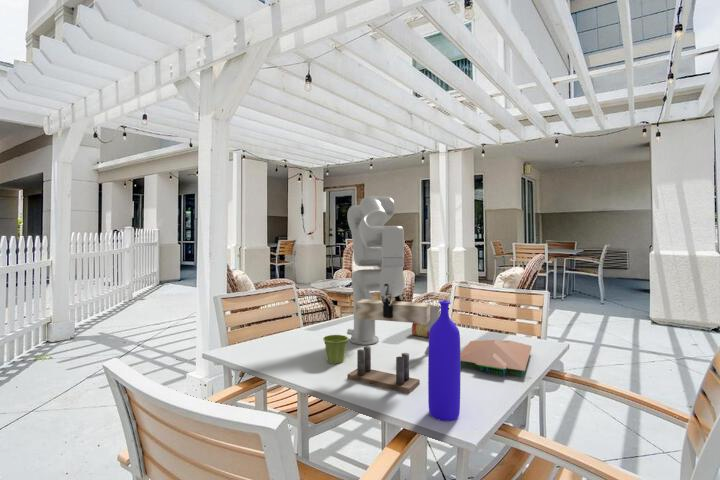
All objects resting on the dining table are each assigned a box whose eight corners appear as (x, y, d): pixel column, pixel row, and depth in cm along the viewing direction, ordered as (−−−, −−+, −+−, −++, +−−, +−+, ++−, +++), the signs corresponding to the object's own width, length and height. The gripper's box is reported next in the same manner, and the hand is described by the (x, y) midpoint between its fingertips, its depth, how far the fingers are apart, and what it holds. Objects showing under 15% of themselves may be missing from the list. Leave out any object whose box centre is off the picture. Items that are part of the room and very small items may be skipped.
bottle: (424, 407, 104) (425, 298, 103) (454, 406, 104) (454, 298, 104) (433, 422, 95) (433, 304, 95) (464, 421, 96) (465, 303, 96)
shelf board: (356, 318, 128) (355, 302, 128) (362, 314, 134) (362, 299, 134) (426, 323, 120) (426, 306, 120) (430, 319, 126) (430, 303, 126)
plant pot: (351, 358, 144) (351, 336, 144) (342, 367, 135) (342, 342, 135) (329, 356, 147) (329, 333, 147) (318, 364, 138) (318, 340, 138)
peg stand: (347, 378, 124) (347, 350, 124) (360, 371, 131) (360, 343, 131) (409, 393, 113) (409, 361, 112) (419, 384, 120) (419, 354, 119)
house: (452, 371, 132) (452, 348, 132) (472, 346, 161) (473, 327, 161) (524, 383, 121) (524, 358, 121) (531, 354, 150) (532, 333, 150)
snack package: (459, 340, 169) (459, 325, 169) (454, 343, 164) (454, 328, 164) (416, 332, 181) (416, 318, 181) (410, 336, 176) (410, 321, 176)
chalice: (440, 356, 147) (440, 309, 146) (422, 354, 148) (422, 309, 148) (439, 350, 154) (440, 306, 154) (423, 349, 155) (423, 305, 155)
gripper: (393, 260, 136) (393, 310, 137) (370, 263, 121) (370, 319, 121) (413, 261, 133) (413, 312, 133) (392, 264, 118) (392, 321, 118)
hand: (392, 315), depth 127 cm, fingers closed on shelf board, 7 cm apart
